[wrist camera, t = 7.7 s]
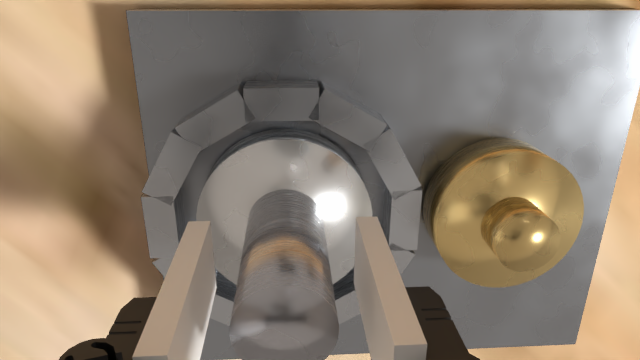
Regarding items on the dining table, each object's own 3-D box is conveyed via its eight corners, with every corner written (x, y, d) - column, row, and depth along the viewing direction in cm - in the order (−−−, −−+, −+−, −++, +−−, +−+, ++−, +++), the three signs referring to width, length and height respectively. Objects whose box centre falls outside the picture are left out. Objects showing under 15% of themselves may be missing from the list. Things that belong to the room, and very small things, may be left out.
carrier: (135, 9, 18) (87, 16, 14) (637, 9, 20) (739, 15, 15) (179, 344, 24) (156, 424, 20) (562, 328, 26) (620, 400, 21)
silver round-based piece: (195, 128, 19) (138, 219, 12) (371, 128, 20) (422, 215, 12) (208, 279, 22) (167, 431, 14) (362, 276, 22) (400, 421, 15)
